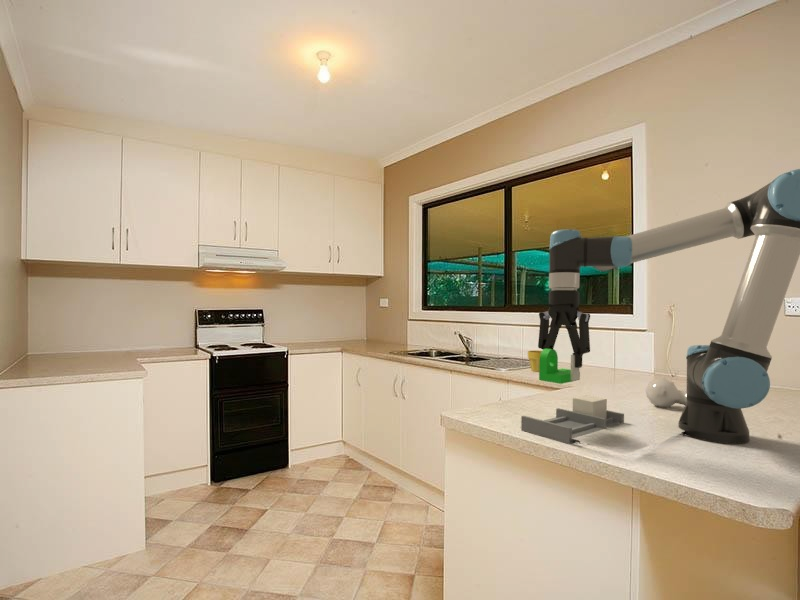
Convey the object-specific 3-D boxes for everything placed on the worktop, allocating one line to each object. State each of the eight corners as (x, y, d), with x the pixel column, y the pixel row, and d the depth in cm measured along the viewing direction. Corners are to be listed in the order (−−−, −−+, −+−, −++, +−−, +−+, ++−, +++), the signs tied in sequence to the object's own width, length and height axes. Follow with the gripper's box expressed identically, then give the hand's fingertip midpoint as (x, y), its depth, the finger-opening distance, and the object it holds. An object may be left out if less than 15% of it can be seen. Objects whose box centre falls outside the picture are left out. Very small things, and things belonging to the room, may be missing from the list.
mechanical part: (560, 383, 112) (561, 351, 112) (539, 380, 117) (539, 349, 117) (583, 379, 120) (584, 348, 120) (562, 375, 125) (563, 346, 125)
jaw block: (606, 420, 126) (606, 398, 126) (592, 424, 122) (593, 401, 122) (586, 416, 131) (586, 395, 131) (572, 419, 127) (572, 398, 127)
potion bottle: (643, 408, 154) (695, 420, 146) (643, 395, 147) (698, 407, 139) (648, 384, 158) (699, 394, 150) (648, 370, 151) (701, 380, 143)
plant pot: (527, 371, 223) (527, 351, 223) (527, 369, 233) (527, 349, 233) (549, 373, 220) (549, 352, 220) (548, 370, 230) (549, 350, 230)
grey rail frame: (623, 427, 124) (624, 413, 124) (569, 444, 108) (569, 428, 108) (576, 416, 135) (577, 404, 135) (521, 430, 119) (521, 416, 120)
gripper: (607, 289, 113) (605, 382, 113) (541, 290, 129) (540, 372, 129) (590, 288, 109) (589, 385, 109) (524, 289, 124) (523, 374, 124)
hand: (562, 378), depth 119 cm, fingers closed on mechanical part, 6 cm apart
